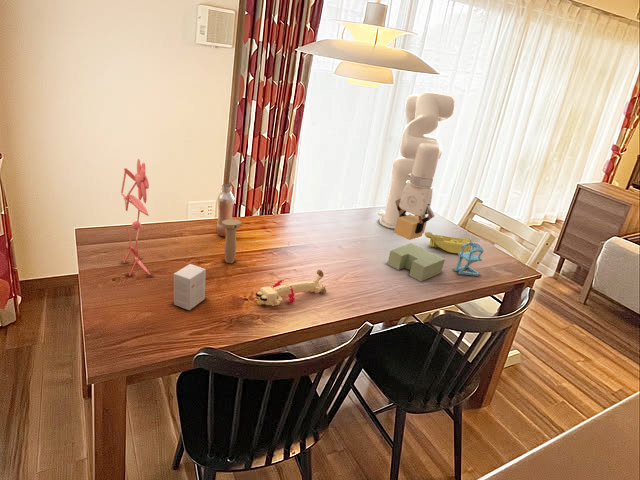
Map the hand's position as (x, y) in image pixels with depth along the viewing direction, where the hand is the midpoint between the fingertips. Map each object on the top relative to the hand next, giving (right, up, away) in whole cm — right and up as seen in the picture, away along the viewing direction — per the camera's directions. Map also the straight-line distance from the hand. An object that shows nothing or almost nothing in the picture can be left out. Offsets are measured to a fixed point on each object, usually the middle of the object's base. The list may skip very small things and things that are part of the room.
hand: (409, 228), depth 172 cm
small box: (-71, -26, -30) cm, 81 cm away
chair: (+25, -15, +18) cm, 34 cm away
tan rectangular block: (+1, -2, +2) cm, 3 cm away
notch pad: (+4, -14, +13) cm, 20 cm away
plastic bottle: (-70, -1, +16) cm, 72 cm away
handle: (-64, -12, -4) cm, 65 cm away
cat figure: (-42, -25, -20) cm, 53 cm away
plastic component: (+22, -4, +37) cm, 44 cm away
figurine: (-89, -15, -16) cm, 91 cm away
